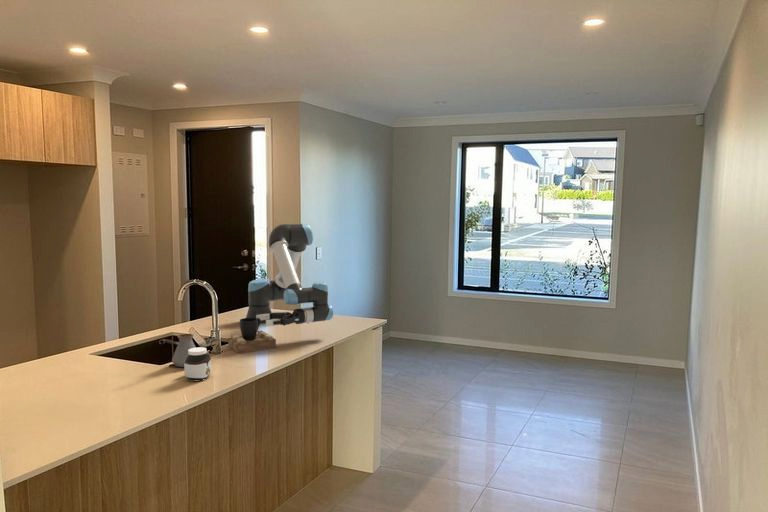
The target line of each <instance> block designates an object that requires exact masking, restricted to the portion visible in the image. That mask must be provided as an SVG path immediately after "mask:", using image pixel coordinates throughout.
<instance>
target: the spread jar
mask: <svg viewBox="0 0 768 512" xmlns="http://www.w3.org/2000/svg"><path fill="white" fill-rule="evenodd" d="M188 354H189V355H188V356H187V358H186V359H185V363H184V368H183V369H184V377H185V378H186V379H187V380H188V381H190V380H203V379H206V378H207V379H209V377H210V375H211V373H212V360H211V359H212V358H211V355H210V354H208V353H207V348H206V347H203V346H202V347H200V346H199V347H196V348H191V349H189V350H188ZM207 379H206V380H207ZM203 381H204V380H203Z"/></svg>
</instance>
